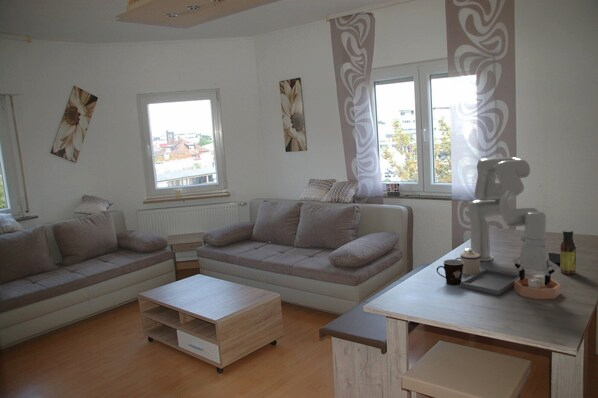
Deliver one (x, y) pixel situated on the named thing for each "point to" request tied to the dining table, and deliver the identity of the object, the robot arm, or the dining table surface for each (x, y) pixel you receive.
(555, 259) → the wireless charger
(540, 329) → the dining table surface
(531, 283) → the pebble
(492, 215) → the robot arm
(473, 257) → the teacup with lid
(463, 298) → the dining table surface
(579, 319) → the dining table surface
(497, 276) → the parts tray
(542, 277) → the pebble
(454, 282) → the coffee mug
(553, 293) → the bowl
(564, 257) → the sauce bottle
